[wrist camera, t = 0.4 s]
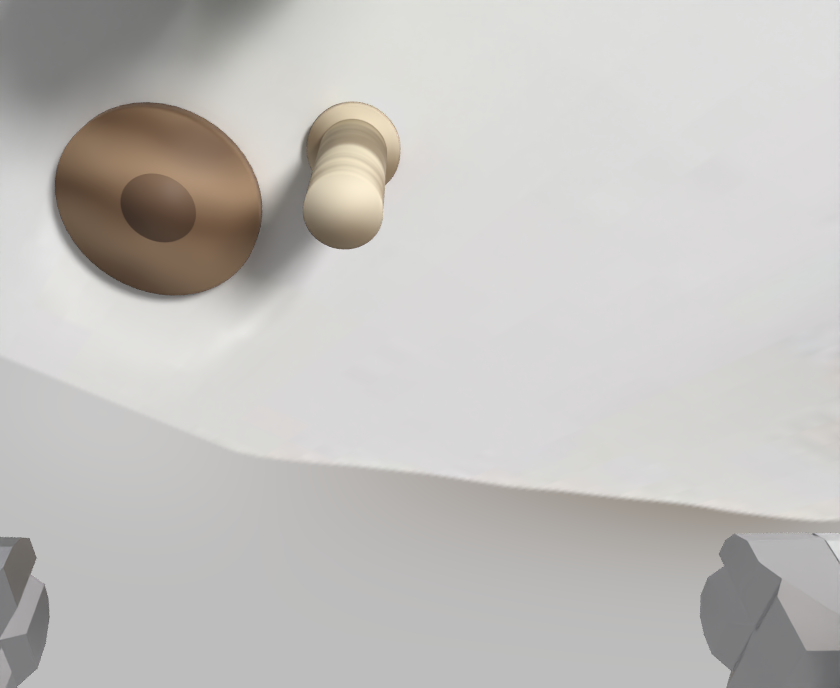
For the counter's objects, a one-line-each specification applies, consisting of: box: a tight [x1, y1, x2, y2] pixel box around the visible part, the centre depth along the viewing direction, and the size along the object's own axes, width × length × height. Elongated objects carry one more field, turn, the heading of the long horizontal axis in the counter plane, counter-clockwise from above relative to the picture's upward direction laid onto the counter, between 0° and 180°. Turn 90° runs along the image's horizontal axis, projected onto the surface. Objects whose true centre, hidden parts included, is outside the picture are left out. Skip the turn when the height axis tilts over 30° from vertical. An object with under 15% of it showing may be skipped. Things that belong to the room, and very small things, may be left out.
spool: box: [303, 102, 400, 249], centre depth 50 cm, size 6×6×11 cm
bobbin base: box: [55, 102, 262, 295], centre depth 56 cm, size 14×14×2 cm
